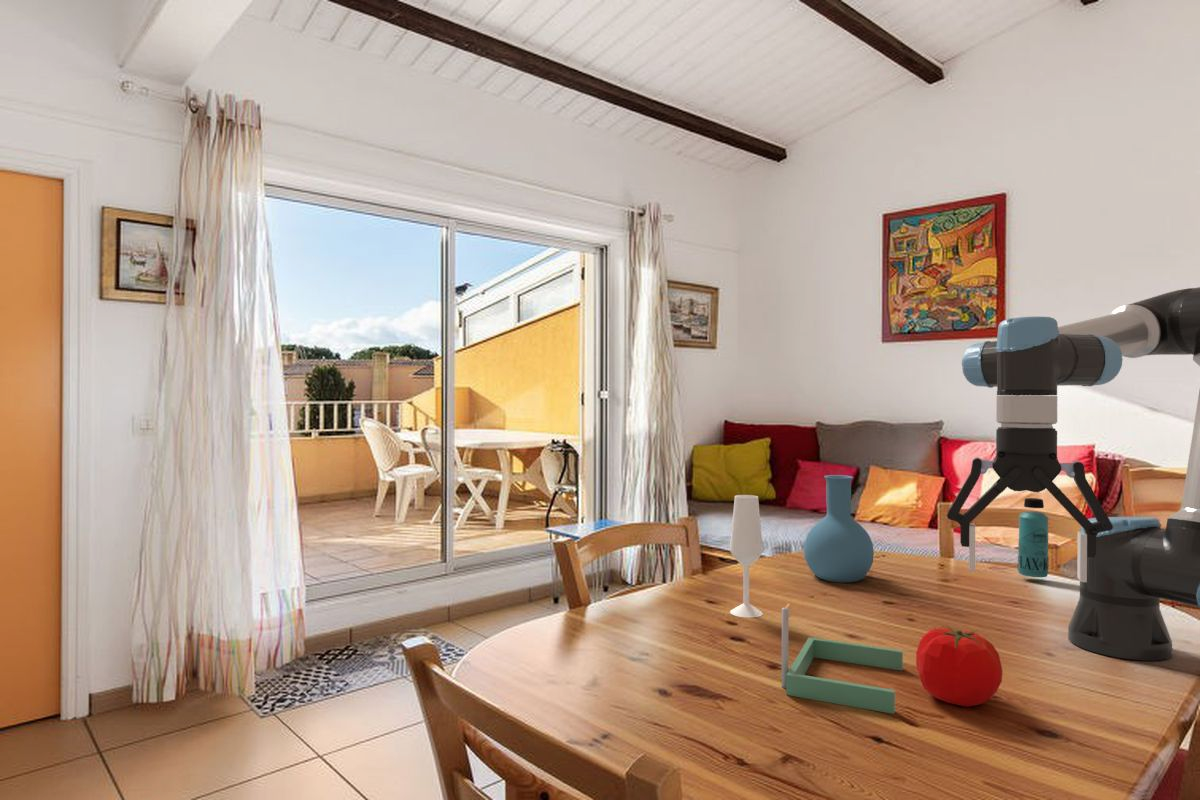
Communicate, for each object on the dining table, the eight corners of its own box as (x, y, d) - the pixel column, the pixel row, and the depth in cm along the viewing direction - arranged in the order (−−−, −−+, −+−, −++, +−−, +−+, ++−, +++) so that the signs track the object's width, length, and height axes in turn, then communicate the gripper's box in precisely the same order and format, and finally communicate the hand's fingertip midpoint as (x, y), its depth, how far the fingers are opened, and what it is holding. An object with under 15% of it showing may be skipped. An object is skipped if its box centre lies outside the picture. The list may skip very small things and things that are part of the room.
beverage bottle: (1011, 578, 179) (1011, 497, 179) (1032, 576, 181) (1032, 496, 181) (1034, 584, 173) (1034, 500, 173) (1055, 582, 175) (1055, 499, 175)
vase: (880, 575, 182) (880, 475, 182) (866, 589, 168) (866, 481, 168) (814, 567, 191) (814, 471, 191) (795, 580, 177) (795, 477, 177)
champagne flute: (728, 616, 148) (728, 498, 148) (730, 607, 154) (730, 493, 154) (762, 618, 146) (762, 499, 146) (763, 609, 153) (763, 494, 153)
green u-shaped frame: (902, 668, 119) (903, 595, 119) (894, 713, 102) (894, 628, 102) (801, 653, 126) (801, 584, 126) (777, 693, 109) (777, 613, 109)
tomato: (896, 689, 111) (897, 622, 111) (954, 679, 115) (954, 614, 115) (961, 722, 100) (961, 647, 100) (1022, 709, 104) (1022, 637, 104)
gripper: (1126, 427, 102) (1126, 578, 102) (931, 423, 113) (930, 560, 113) (1139, 428, 95) (1138, 591, 95) (929, 424, 106) (928, 570, 106)
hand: (1025, 574), depth 104 cm, fingers open, 13 cm apart
